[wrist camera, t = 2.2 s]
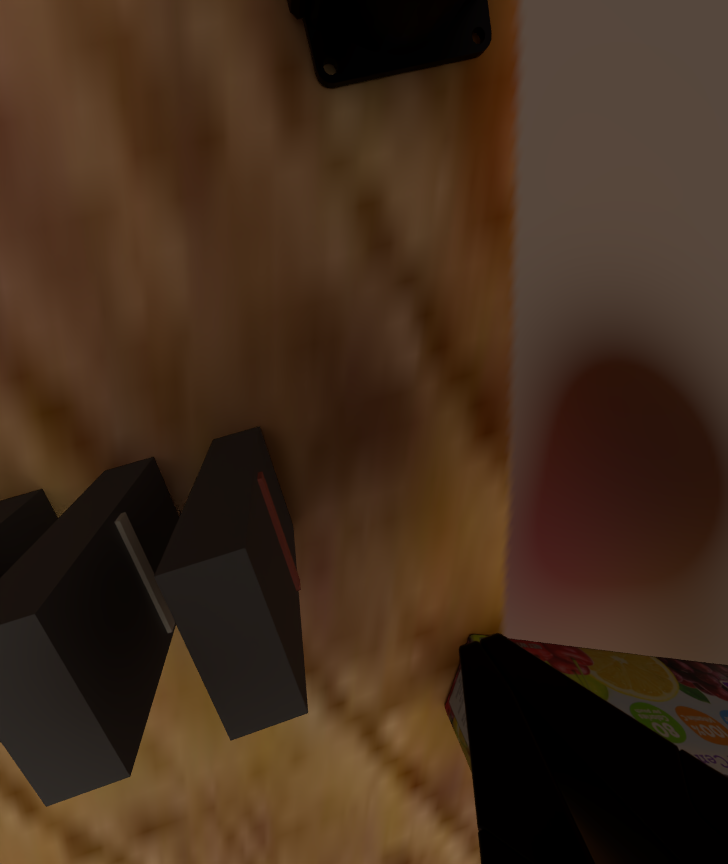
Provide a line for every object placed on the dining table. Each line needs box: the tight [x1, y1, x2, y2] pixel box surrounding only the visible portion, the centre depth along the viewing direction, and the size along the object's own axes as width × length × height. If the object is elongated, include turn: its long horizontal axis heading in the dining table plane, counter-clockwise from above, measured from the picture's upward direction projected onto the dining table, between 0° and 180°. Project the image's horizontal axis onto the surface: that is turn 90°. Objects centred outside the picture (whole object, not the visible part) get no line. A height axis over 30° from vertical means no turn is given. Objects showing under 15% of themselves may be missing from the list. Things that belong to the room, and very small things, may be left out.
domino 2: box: [154, 426, 308, 740], centre depth 15 cm, size 2×5×10 cm, turn 14°
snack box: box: [445, 634, 728, 777], centre depth 21 cm, size 21×6×15 cm, turn 75°
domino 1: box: [0, 457, 179, 807], centre depth 15 cm, size 2×5×10 cm, turn 14°
